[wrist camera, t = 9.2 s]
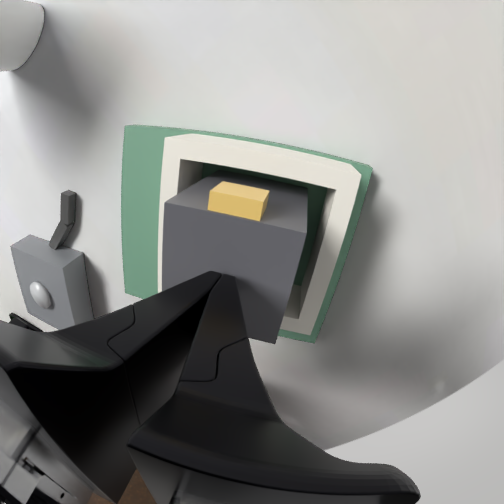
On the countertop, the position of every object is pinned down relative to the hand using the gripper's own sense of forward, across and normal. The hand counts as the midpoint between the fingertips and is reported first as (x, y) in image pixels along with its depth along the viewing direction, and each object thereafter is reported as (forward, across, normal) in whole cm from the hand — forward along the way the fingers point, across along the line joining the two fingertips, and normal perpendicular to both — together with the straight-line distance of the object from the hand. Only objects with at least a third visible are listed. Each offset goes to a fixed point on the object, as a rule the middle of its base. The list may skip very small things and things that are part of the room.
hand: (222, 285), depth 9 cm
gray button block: (+7, +16, +7) cm, 19 cm away
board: (+7, +2, +2) cm, 8 cm away
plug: (+6, 0, 0) cm, 6 cm away
